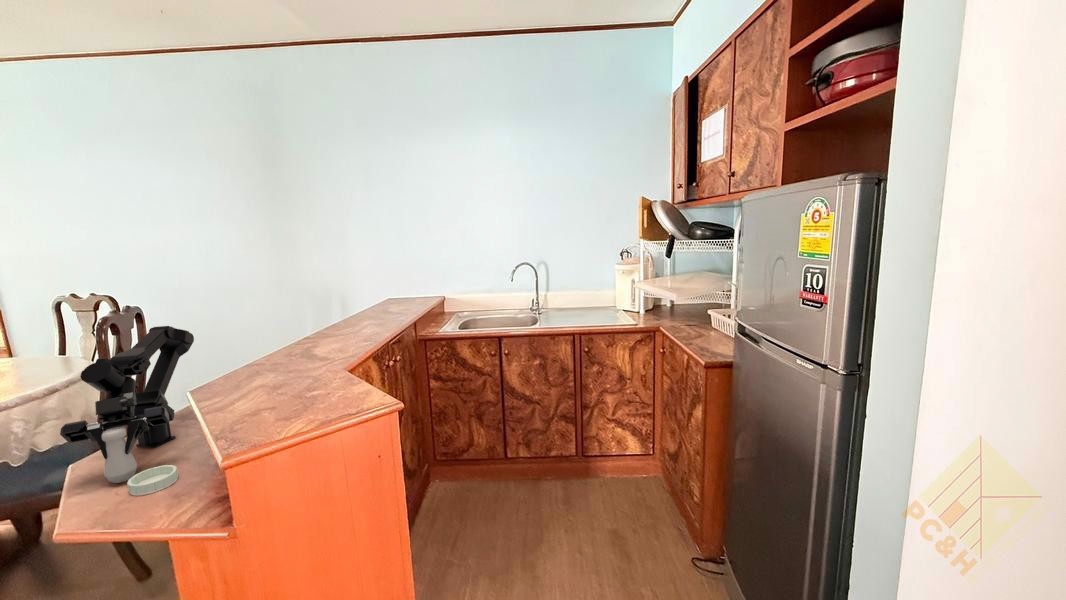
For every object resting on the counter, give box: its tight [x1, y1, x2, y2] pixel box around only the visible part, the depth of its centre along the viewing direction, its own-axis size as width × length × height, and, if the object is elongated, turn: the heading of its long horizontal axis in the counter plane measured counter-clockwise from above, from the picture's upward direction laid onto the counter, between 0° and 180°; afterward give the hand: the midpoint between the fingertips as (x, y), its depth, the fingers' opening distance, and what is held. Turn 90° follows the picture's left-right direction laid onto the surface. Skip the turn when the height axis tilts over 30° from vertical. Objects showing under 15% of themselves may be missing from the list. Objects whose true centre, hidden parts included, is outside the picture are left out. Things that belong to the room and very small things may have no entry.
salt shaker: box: [102, 426, 138, 484], centre depth 102 cm, size 6×6×13 cm
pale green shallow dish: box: [126, 464, 179, 497], centre depth 101 cm, size 9×9×2 cm
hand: (116, 456), depth 101 cm, fingers closed on salt shaker, 3 cm apart
